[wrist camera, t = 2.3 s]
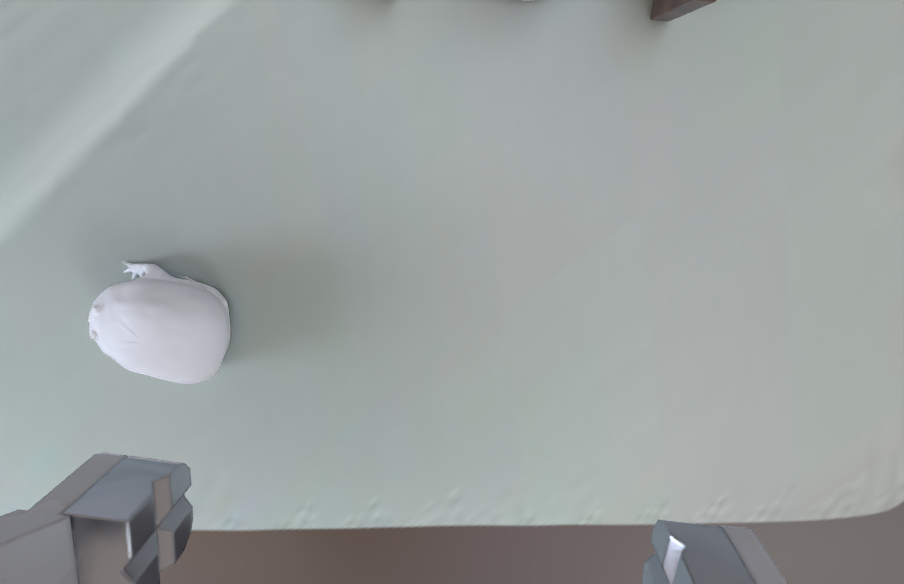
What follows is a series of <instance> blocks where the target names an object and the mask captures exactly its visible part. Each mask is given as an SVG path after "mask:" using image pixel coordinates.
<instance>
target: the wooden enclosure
mask: <svg viewBox="0 0 904 584" xmlns="http://www.w3.org/2000/svg"><path fill="white" fill-rule="evenodd" d="M715 1H716V0H654V3H653V9H652V14H651V20H659V21H671V20H673V19H675V18H678V17H680V16H682V15H685V14H687V13H689V12H692V11H694V10H696V9H699V8H701V7H703V6H706V5H708V4H710V3H713V2H715Z"/></svg>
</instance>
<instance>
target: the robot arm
mask: <svg viewBox="0 0 904 584" xmlns="http://www.w3.org/2000/svg"><path fill="white" fill-rule="evenodd" d="M190 486H191V474H190V468H189V467H188V466H187V465H186V464H185V463H178V462H171V461H164V460H157V459H150V458H143V457H136V456H127V455H120V454H111V453H99V454H95V455H93V456H92V457H91V458H90V459H89V460H87V461H86V462H85V463H84V464H83V465H81V466H80V467H79V468H78V469H77V470H75V471H74V472H73V473H72V474H71V475H70V476H68V477H67V478H66V479H65V480H64V481H62V482H61V483H60V484H59V485H58V486H56V487H55V488H54V489H53V490H52V491H51V492H49V493H48V494H47V495H46V496H45V497H43V498H42V499H41V500H40V501H39V502H37V503H36V504H35V505H34V506H33V507H31V508H30V509H29V510H28V511H26V510H16V511H13V512H11V513H8V514H5V515H3V516H0V584H160V572H161V571H163V570H165V569H166V568H168V567H170V566H172V565H174V564H175V563H176V561H177V560H178V558H179V557H180V555H181V554H182V552H183V551H184V549H185V546H186V544H187V541H188V539H189V536H190V534H191V528H192V521H193V507H192V505H191V504H190V503H189V501H188V500H187V499H186V497H185V496H184V494H185V492H186V491H187V490H188V488H189V487H190ZM651 541H652V544H653V547H654V549H655V553H654V554H653V555H652V556H651V557H649V558H648V559H647V560H646V561H645V566H644V571H643V576H642V584H788V583H787V581H786V580H785V578H784V577H783V575H782V574H781V572H780V570H779V569H778V568H777V566H776V564H775V563H774V561H773V560H772V559H771V557H770V555H769V554H768V552H767V551H766V549H765V548H764V546H763V545H762V543H761V542H760V540H759V539H758V537H757V536H756V534H755V533H754V532H753V531H751V530H750V529H748V528H742V527H731V526H719V525H718V526H710V525H701V524H692V523H683V522H674V521H665V520H658V521H657V522H656V524H655V526H654V528H653V532H652V536H651Z"/></svg>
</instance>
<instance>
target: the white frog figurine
mask: <svg viewBox="0 0 904 584" xmlns="http://www.w3.org/2000/svg"><path fill="white" fill-rule="evenodd" d="M122 263H123V264H125V265H126V266H128V269H127V270H125V271H124V272H133V276H132V281H129V282H123V283H117V284H114V285H111V286H110V287H108V288H107V289H106V290H104V291H103V292H102V293H101V294H100V295H99V296H98V297H97V298H96V300H95V301H94V303H93V306H92V309H91V312H90V313H89V314H88V317H89V318H88V322H89V323H90V334H89V335H90V337H91V338H94V339H95V340H96V342H97V344H98V345H99V347H100V348H101V350H102V351H103V352H104V353H105V354H107V355H108V356H110V357H112V358H113V359H114V360H116V361H117V362H118V363H119V364H120V365H121V366H123V367H124V368H126V369H127V370H129V371H131V372H134V373H141V374H146V375H148V376H151V377H154V378H158V379H163V380H167V381H171V382H175V383H181V384H194V383H199V382H202V381H204V380H206V379H208V378H210V377H212V376H213V375H214V374H216V372H217V371H218V370H219V368H220V366H221V363H222V361H223V359H224V357H225V354H226V352H227V349H228V346H229V342H230V334H231V328H230V317H229V309H228V304H227V301H226V299H225V298H224V297H223V295H222V294H221V293H220V292H219V291H218V290H217V289H215V288H213V287H211V286H209V285H206V284H203V283H199V282H197V281H194V280H192V279H191V278H189V277H186V276H185V277H184V278H185V279H186V280H184V279H179V278H175V277H173V276H171V275H170V274H168V273H167V272H165V271H164V270H163V269H161V268H160V267H159V266H157V265H155V264H140V263H136V264H132V263H129V262H125V261H122ZM138 274H139V276H140V277H139V278H137V279H135V278H136V276H137V275H138ZM144 274H145V275H144ZM134 279H135V280H134Z"/></svg>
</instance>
